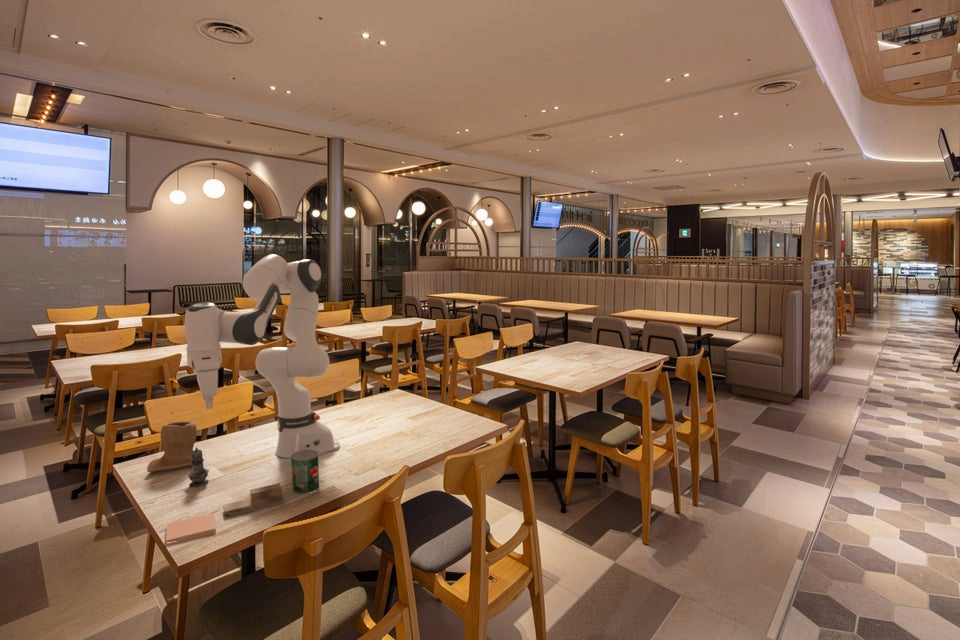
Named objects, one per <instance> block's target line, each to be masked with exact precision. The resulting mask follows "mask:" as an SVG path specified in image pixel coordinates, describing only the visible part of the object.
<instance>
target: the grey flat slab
mask: <svg viewBox="0 0 960 640" xmlns="http://www.w3.org/2000/svg"><path fill="white" fill-rule="evenodd" d="M280 504H281V505H284V502H283V499H282V500H279V501H275V502H271V503H267V504H263V505H258V506H254V507H253V508H252V509H248V510H244V511H239V512H235V513H231V514H228V516H229V518H233V517H236V516H240V515H244V514H249V513H253V512H256V511H255V510H257V511H260V509H261V510H264V509H263V508H265V509H268V507H269V508H272V506H273V507H277V506H280ZM276 505H277V506H276ZM252 511H253V512H252Z"/></svg>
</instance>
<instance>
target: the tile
mask: <svg viewBox="0 0 960 640" xmlns="http://www.w3.org/2000/svg"><path fill="white" fill-rule="evenodd" d="M215 533H217V529H216V518H215V512H211V513H208V514H207V513H206V514H203V515H198V516H195V517H190V518H186V519H181V520H176V521H172V522H169V523H167V524H166V533H165V543H166V542H173V541H179V542H182V541H186V540H190V539H191V540H192V539H195V538H199V537H203V536H206V535H211V534H215Z"/></svg>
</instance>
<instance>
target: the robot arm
mask: <svg viewBox="0 0 960 640" xmlns="http://www.w3.org/2000/svg"><path fill="white" fill-rule="evenodd" d="M322 276H323V271H322V269H321V267H320V265H319V264H318V262H316V261H315V260H314V259H301V260H296V261H291V262H287V261H286V260H285V258H283V257H282V256H280V255H278V254H273V253H272V254H268V255H266V256H264V257H263V258H261V259H260V260H259V261H257V262H256V263H255V264H253V265H252V267H251V268H250V269H249V270H248V271H247V272H246V273H245V275H244V276H243V279H242V287H243V290H244V292H245V293H246V295H247V296H248V297H249V298H251V299H252V300H254V301H255V302H256V304H255V305H254V307H253V309H251V310H248V311H225V310H223V309H220V308H218V307H217V305H216V304H215V303H213V302H199V303H194V304H191V305H189V306H188V307H187V308H186V310H185V314H184V315H185V316H184V333H185V334H184V335H185V336H184V337H185V338H186V340H187V345H186V349H185V350H186V363H187V367H190V368H191V369H192V371H193V372H195V373H196V380H197V383H198V387H199V389H200V392H201V396H202V400H203V401H204V403H205V409H207V410H211V409H213V408H214V403H213V402H214V397H215V396H217V394H218V383H219V370H220V369H221V364H222V362H223V361H222V360H223V358H222V345H221V343H227V344H228V343H229V344H241V345H247V346H254V345H256V344H257V343H259V342H260V341H261V340H262V339H263V337H264V336H265V334H266V331H267V326H268V323H269V321H270V319H271V317H272V316H273V313H274V311H275V310H276V307H277V305H278V303H279V300H280V295H285V294H289V295H290V301H289V304H288V308H287V311H286V317H285V321H284V325H283V333H284V335H285V336H286V337H287V338H288V339H289V340H291V341H293V342H294V343H295V346H289V347H288V346H286V347H285V346H275V347H269V348H268V347H267V348H264V349H261V350H260V351H259V352H258V354H257V356H256V357H255V368H256V370H257V372H258V374H260V375H261V376H262V377H264V378H265V379H266V380H267V381H268V382H269V383H270V384H271V386H272V387H273V389H274V391H275V393H276V397H277V398H276V400H277V408H278V414H277V424H276V425H277V431H278V439H277V446H276V450H275V455H276V456H278V457H280V458H283V459H291V456H292V454H294V453H295V452H298V451H302V450H315V451H317V452H318V454H319V455H322V454H321V453H323V454H325V453H324V452H326V453H328V452H327V451H329V452H332V451H331V450H333V451H336V450H338V449H339V448H340V447H339V446H341V445H340V441H339V440H338V439H337V438H336V437H334V435H333V432H332V431H331V429H330V427H328V426H327V425H326V424H324V423H322V422H320V419H321V415H319V414H318V413H316V412H315V411H313V410H311V408H312V407H311V393H310V391H309V390H308V389H307V387H305V386H302V384H299V382H297V380H296V379H295V378H305V379H307V378H316V377H322V376H324V374H326V372H327V371H328V370H329V366H330V357H329V354H328V353H327V352H326V350H325V349H323V348H322V347H321V346H320V345H319V344H318V341H317V337H316V330H317V329H316V327H317V321H318V315H319V303H320V302H319V296H318V294H317V293H316V292H317V290H318V289H319V288H320V284H321V282H322ZM335 449H336V450H335Z"/></svg>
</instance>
